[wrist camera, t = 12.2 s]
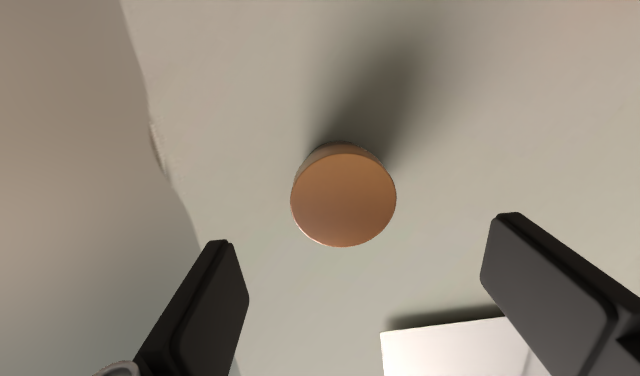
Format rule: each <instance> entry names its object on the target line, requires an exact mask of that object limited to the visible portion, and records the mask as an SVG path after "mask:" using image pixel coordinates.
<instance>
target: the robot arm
mask: <svg viewBox="0 0 640 376" xmlns="http://www.w3.org/2000/svg"><path fill="white" fill-rule="evenodd" d="M480 281H481V284H482V285H483V287H484V288H485V290H486V291H487V292H488V294H489V295H490V296H491V297H492V299H493V300H494V301H495V303H496V304H497V305H498V307H499V308H500V309H501V311H502V312H503V313H504V314H505V316H506V317H507V318H508V320H509V321H510V322H511V324H512V325H513V326H514V328H515V329H516V330H517V332H518V333H519V334H520V335H521V337H522V338H523V339H524V341H525V342H526V343H527V345H528V346H529V347H530V349H531V350H532V351H533V353H534V354H535V355H536V356H537V358H538V359H539V360H540V362H541V363H542V364H543V366H544V367H545V368H546V370H547V371H548V372H549V373H550V375H551V376H640V297H638V296H637V295H635V294H634V293H632V292H631V291H630V290H628V289H627V288H625V287H624V286H623V285H621V284H620V283H618V282H617V281H615V280H614V279H613V278H611V277H610V276H608V275H607V274H606V273H604V272H603V271H601V270H600V269H599V268H597V267H596V266H594V265H593V264H591V263H590V262H589V261H587V260H586V259H584V258H583V257H582V256H580V255H579V254H577V253H576V252H574V251H573V250H572V249H570V248H569V247H567V246H566V245H565V244H563V243H562V242H560V241H559V240H558V239H556V238H555V237H553V236H552V235H550V234H549V233H548V232H546V231H545V230H543V229H542V228H541V227H539V226H538V225H536V224H535V223H534V222H532V221H531V220H529V219H528V218H526V217H525V216H524V215H522V214H521V213H519V212H511V213H500V214H498V215H497V216H496V218H494V219H493V220H492V221H491V225H490V230H489V235H488V239H487V244H486V249H485V253H484V258H483V263H482V267H481V272H480ZM248 306H249V294H248V291H247V288H246V284H245V281H244V278H243V275H242V272H241V269H240V265H239V262H238V259H237V256H236V253H235V250H234V246H233V244H232V243H228V241H227V240H225V239H223V240H213V241H209V242H208V243H207V244H206V246H205V248H204V249H203V251H202V252H201V254H200V255H199V257H198V259H197V260H196V262H195V263H194V265H193V266H192V268H191V270H190V271H189V273H188V274H187V276H186V277H185V279H184V280H183V282H182V284H181V285H180V287H179V288H178V290H177V291H176V293H175V295H174V296H173V298H172V299H171V301H170V302H169V304H168V306H167V307H166V309H165V310H164V312H163V313H162V315H161V316H160V318H159V320H158V321H157V323H156V324H155V326H154V327H153V329H152V330H151V332H150V334H149V335H148V337H147V338H146V340H145V341H144V343H143V345H142V346H141V348H140V349H139V351H138V353H137V354H136V356H135V358H134V359H133V361H119V362H116V363H112V364H110V365H108V366H107V367H105V368H103V369H101V370H100V371H98V372H97V373H95V374H94V375H92V376H228V374H229V370H230V367H231V364H232V360H233V357H234V353H235V350H236V347H237V343H238V340H239V336H240V333H241V330H242V326H243V323H244V320H245V316H246V313H247V309H248Z"/></svg>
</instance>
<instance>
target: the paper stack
mask: <svg viewBox="0 0 640 376" xmlns="http://www.w3.org/2000/svg"><path fill="white" fill-rule="evenodd" d="M380 338H381V347H382V356H383V365H384V374H385V376H551V375H550V373H549V372H548V371H547V370H546V368H545V367H544V366H543V364H542V363H541V362H540V360H539V359H538V358H537V356H536V355H535V354H534V353H533V351H532V350H531V349H530V347H529V346H528V345H527V343H526V342H525V341H524V339H523V338H522V337H521V335H520V334H519V333H518V332H517V330H516V329H515V328H514V326H513V325H512V324H511V322H510V321H509V320H508V318H507V317H498V318H490V319H482V320H474V321H466V322H458V323H450V324H442V325H434V326H426V327H418V328H410V329H402V330H394V331H386V332H380Z"/></svg>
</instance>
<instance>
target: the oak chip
mask: <svg viewBox="0 0 640 376" xmlns="http://www.w3.org/2000/svg"><path fill="white" fill-rule="evenodd" d="M396 199H397V198H396V189H395V185H394V182H393V180H392V178H391V176H390V175H389V173H388V172H387V170H386V169H385V168H384V166H383V165H382V164H381V162H380V161H379V160H378V159H377V158H376V157H375V156H374V155H373V154H371V153H370V152H368V151H367V150H365V149H363V148H360V147H357V146H353V145H344V144H343V145H333V146H328V147H325V148H323V149H320V150H318V151H316V152H315V153H313V154H312V155H310V156H309V157H308V158H307V159H306V160H305V161H304V162H303V163H302V165H301V166H300V167H299V169H298V171H297V173H296V176H295V178H294V182H293V187H292V192H291V197H290V206H291V212H292V215H293V218H294V220H295V222H296V224H297V225H298V227H299V228H300V229H301V231H302V232H303V233H305V234H306V235H307V236H308V237H309V238H311V239H312V240H314V241H316V242H318V243H321V244H323V245H327V246H332V247H350V246H355V245H359V244H362V243H365V242H367V241H369V240H371V239H372V238H374V237H375V236H377V235H378V234H379V233H380V232H381V231H382V230H383V229H384V228H385V227H386V226H387V224H388V223H389V222H390V220H391V218H392V216H393V213H394V211H395V206H396Z"/></svg>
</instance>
